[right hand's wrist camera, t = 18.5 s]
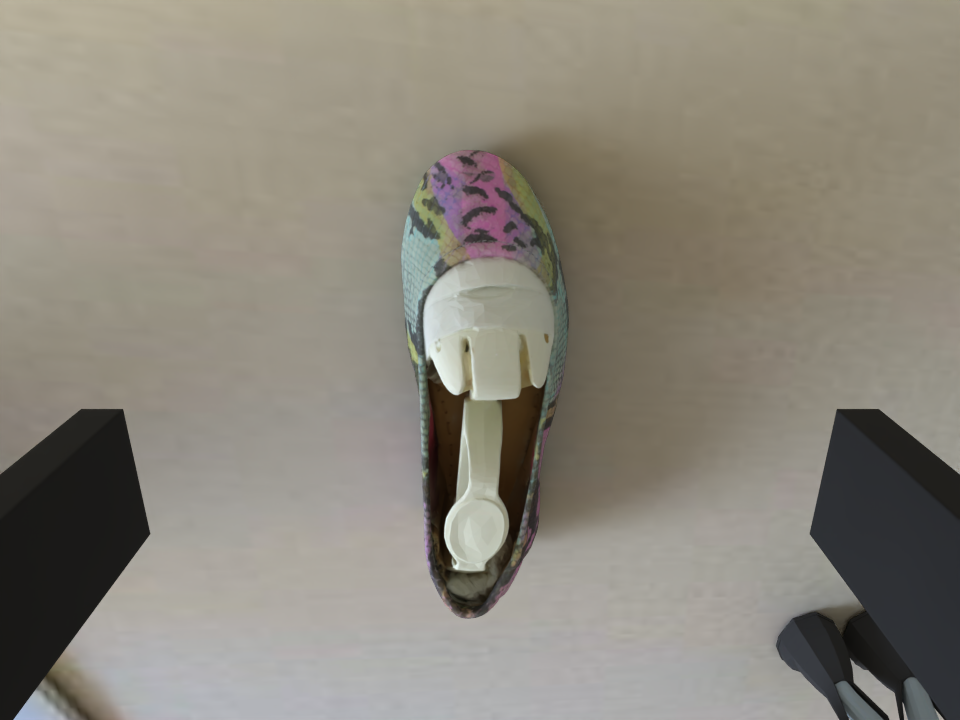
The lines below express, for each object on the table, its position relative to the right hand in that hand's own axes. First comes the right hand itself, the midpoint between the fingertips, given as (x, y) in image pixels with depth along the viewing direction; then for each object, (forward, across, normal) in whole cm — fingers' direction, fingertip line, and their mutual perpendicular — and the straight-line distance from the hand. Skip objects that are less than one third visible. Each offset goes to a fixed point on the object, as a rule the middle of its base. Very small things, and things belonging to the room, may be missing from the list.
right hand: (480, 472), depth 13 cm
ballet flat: (+24, 0, -8) cm, 25 cm away
